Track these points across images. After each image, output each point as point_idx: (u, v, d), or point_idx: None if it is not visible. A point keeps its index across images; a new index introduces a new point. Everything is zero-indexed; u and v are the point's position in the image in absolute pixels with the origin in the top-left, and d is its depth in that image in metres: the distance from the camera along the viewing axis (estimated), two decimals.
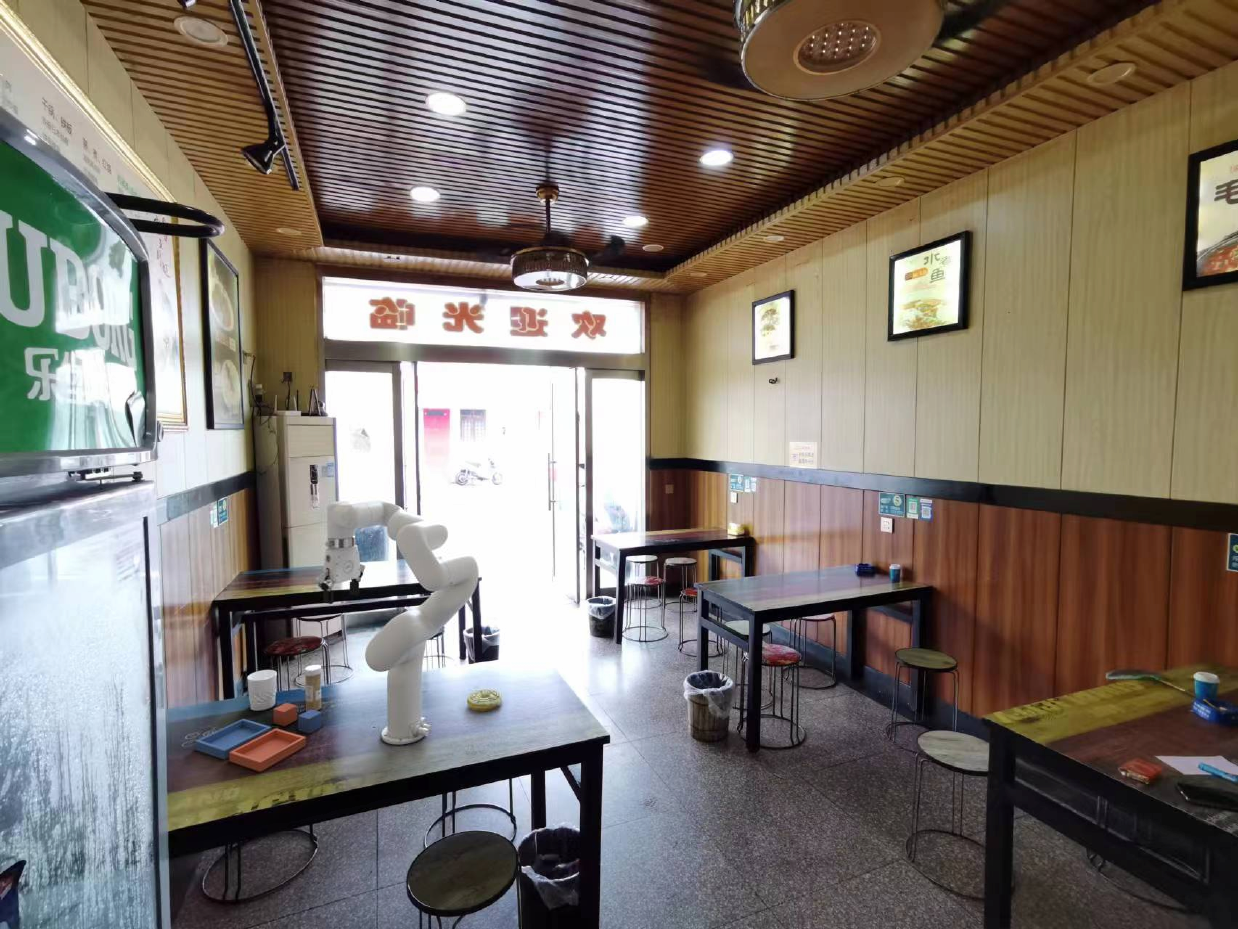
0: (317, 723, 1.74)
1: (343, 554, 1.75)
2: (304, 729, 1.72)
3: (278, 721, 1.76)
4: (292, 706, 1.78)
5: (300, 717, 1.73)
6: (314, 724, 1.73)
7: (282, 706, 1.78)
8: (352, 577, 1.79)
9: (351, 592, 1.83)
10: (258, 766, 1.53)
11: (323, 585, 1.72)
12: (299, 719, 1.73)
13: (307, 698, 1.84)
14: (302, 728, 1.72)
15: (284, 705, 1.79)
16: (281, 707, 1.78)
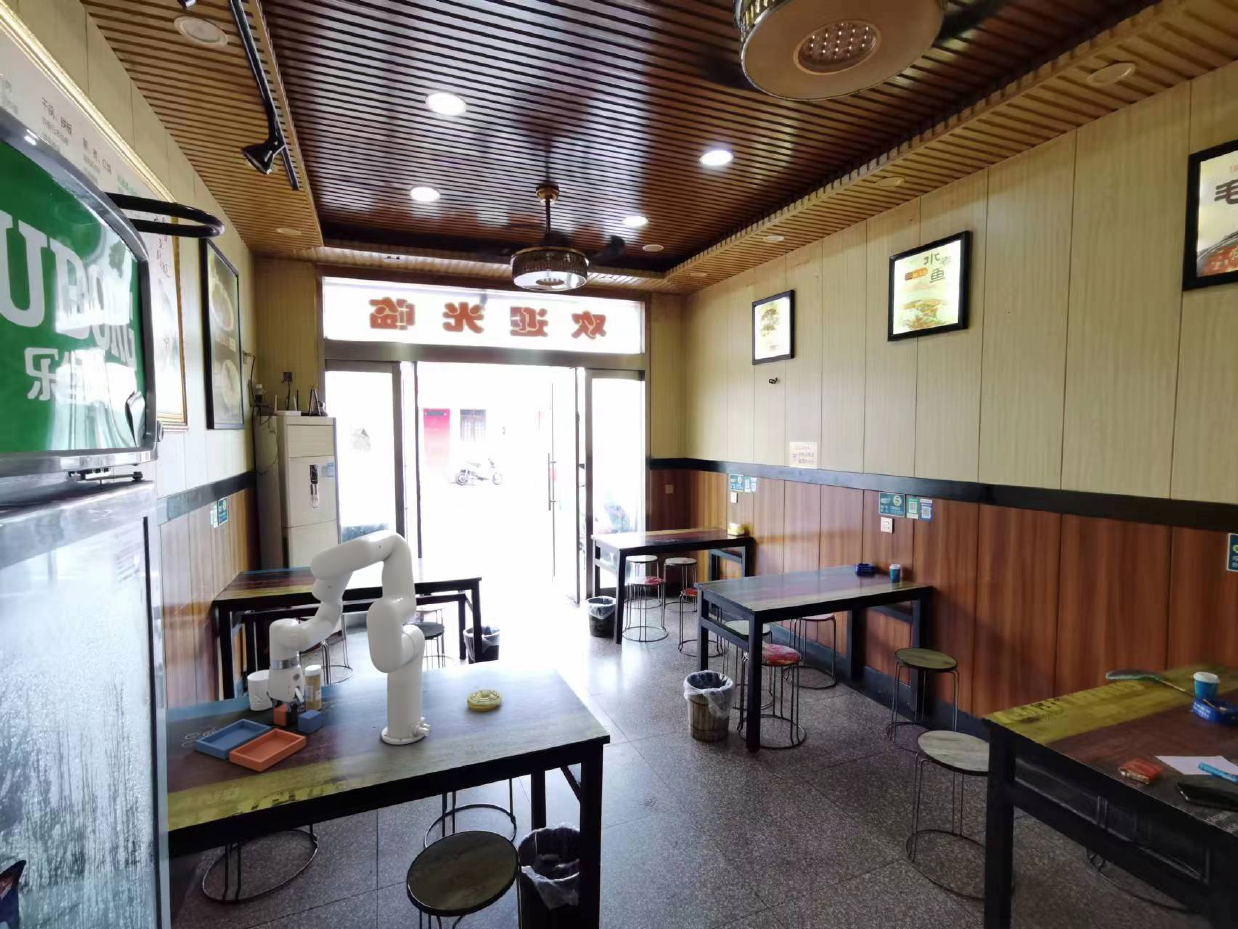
0: (317, 723, 1.74)
1: None
2: (304, 729, 1.72)
3: (278, 721, 1.76)
4: None
5: (300, 717, 1.73)
6: (314, 724, 1.73)
7: (282, 706, 1.78)
8: None
9: None
10: (258, 766, 1.53)
11: None
12: (299, 719, 1.73)
13: (307, 698, 1.84)
14: (302, 728, 1.72)
15: (284, 705, 1.79)
16: (281, 707, 1.78)
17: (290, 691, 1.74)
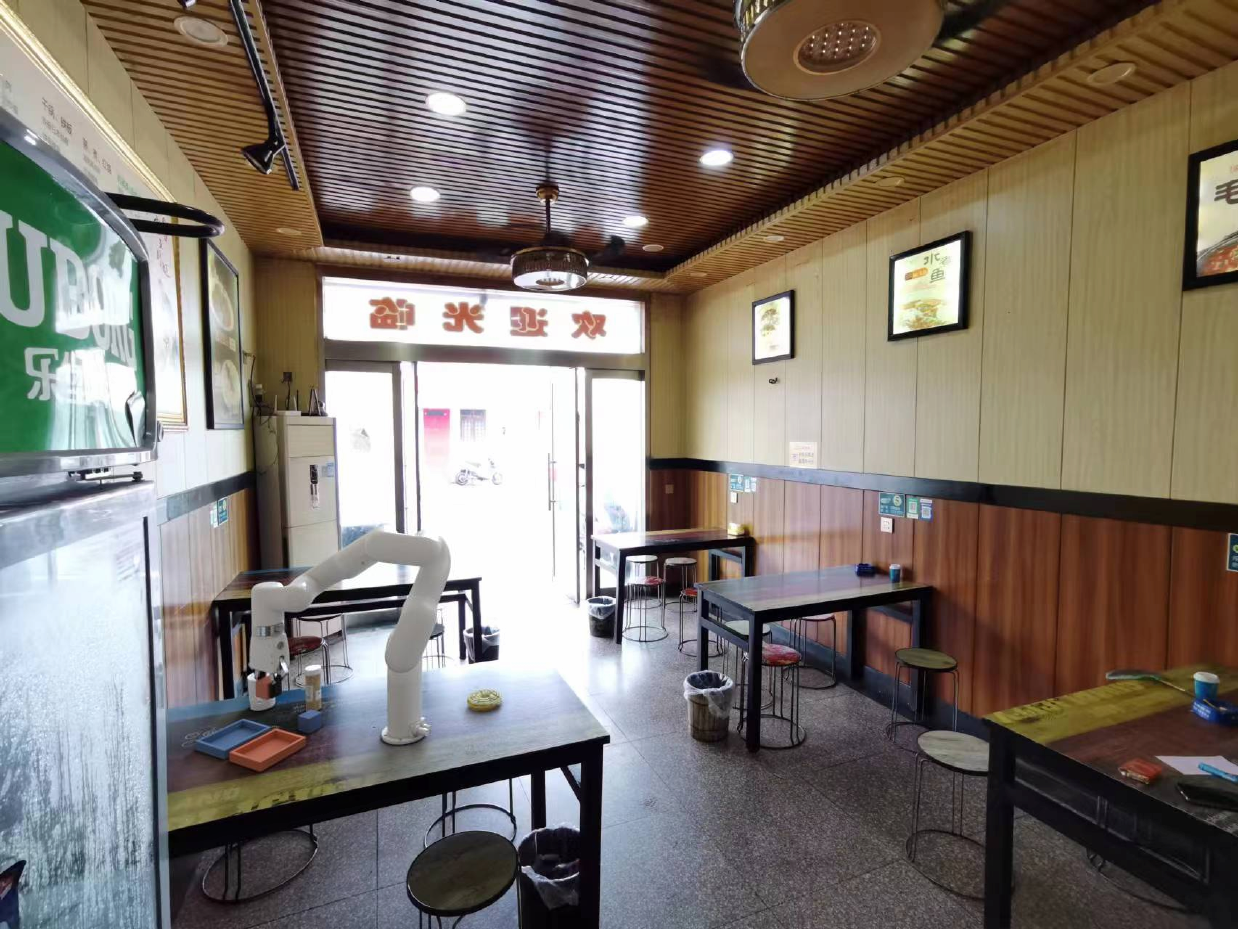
0: (317, 723, 1.74)
1: None
2: (304, 729, 1.72)
3: (260, 694, 1.59)
4: None
5: (300, 717, 1.73)
6: (314, 724, 1.73)
7: (265, 678, 1.62)
8: None
9: None
10: (258, 766, 1.53)
11: None
12: (299, 719, 1.73)
13: (307, 698, 1.84)
14: (302, 728, 1.72)
15: (267, 677, 1.62)
16: (264, 679, 1.61)
17: (274, 661, 1.57)
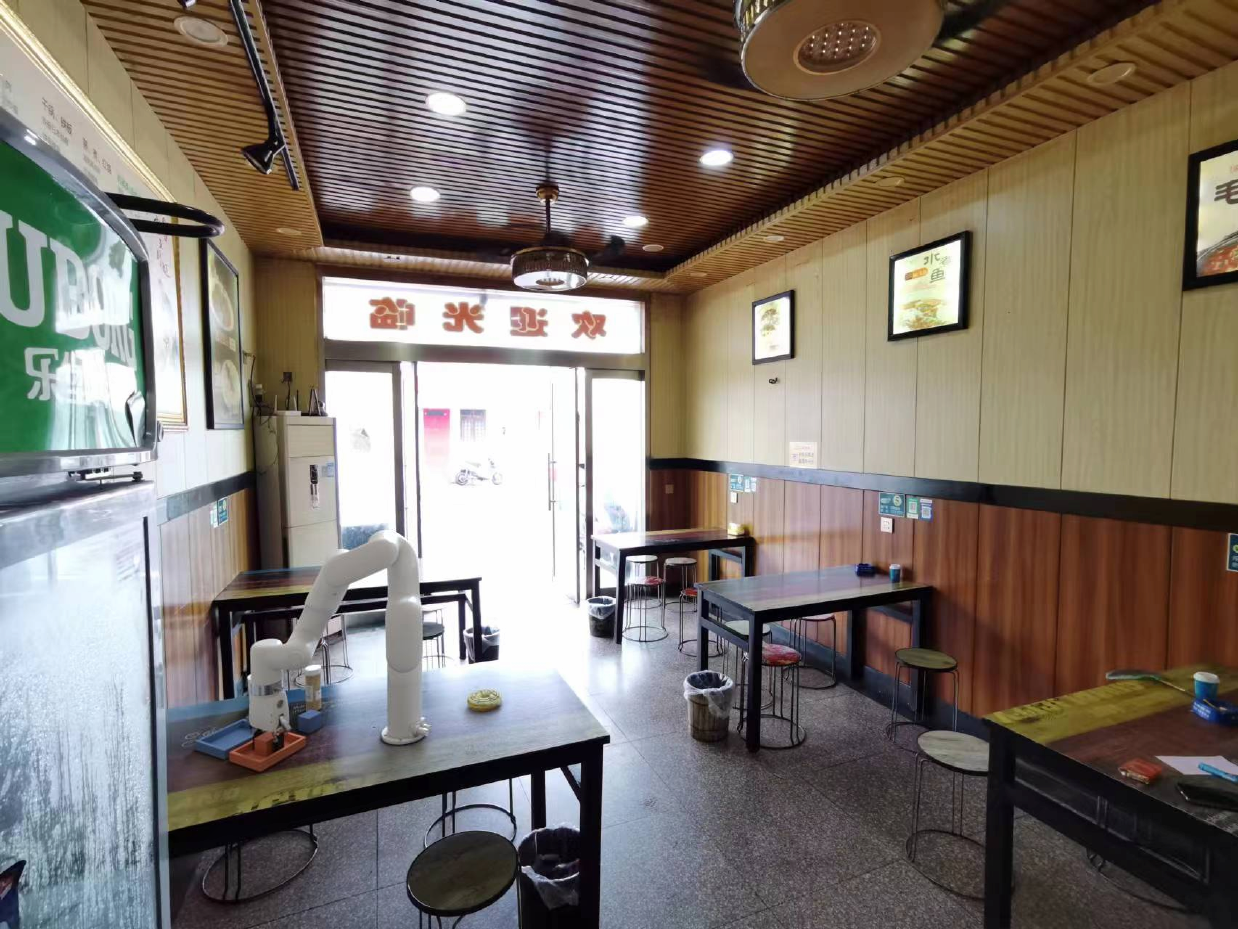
0: (317, 723, 1.74)
1: None
2: (304, 729, 1.72)
3: (259, 752, 1.59)
4: None
5: (300, 717, 1.73)
6: (314, 724, 1.73)
7: (264, 735, 1.61)
8: None
9: None
10: (258, 766, 1.53)
11: None
12: (299, 719, 1.73)
13: (307, 698, 1.84)
14: (302, 728, 1.72)
15: (266, 733, 1.62)
16: (263, 736, 1.60)
17: (273, 720, 1.57)
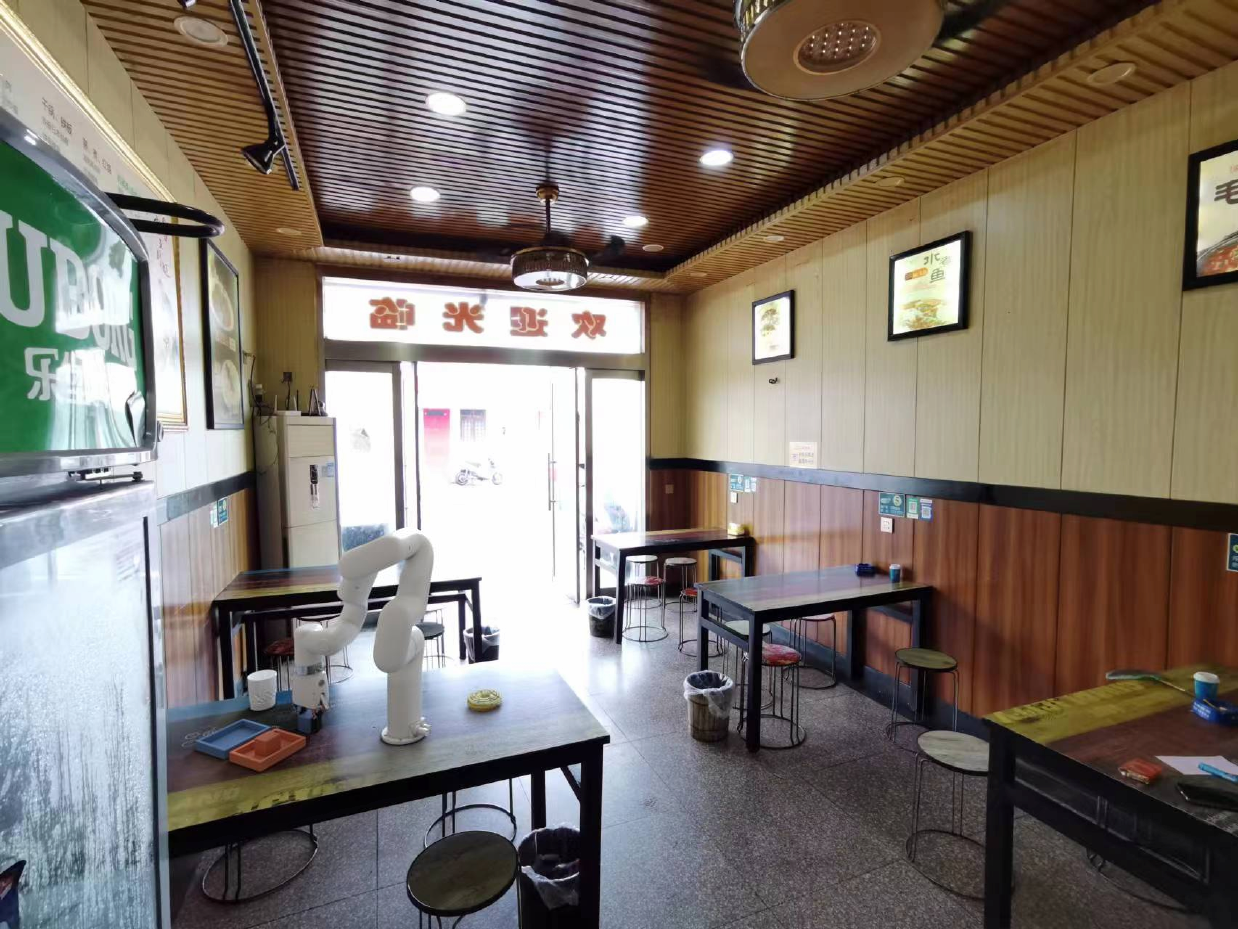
0: None
1: None
2: (304, 729, 1.72)
3: (259, 752, 1.59)
4: (275, 735, 1.61)
5: (300, 717, 1.73)
6: None
7: (264, 735, 1.61)
8: None
9: None
10: (258, 766, 1.53)
11: None
12: (299, 719, 1.73)
13: None
14: (302, 728, 1.72)
15: (266, 733, 1.62)
16: (263, 736, 1.60)
17: (315, 698, 1.70)
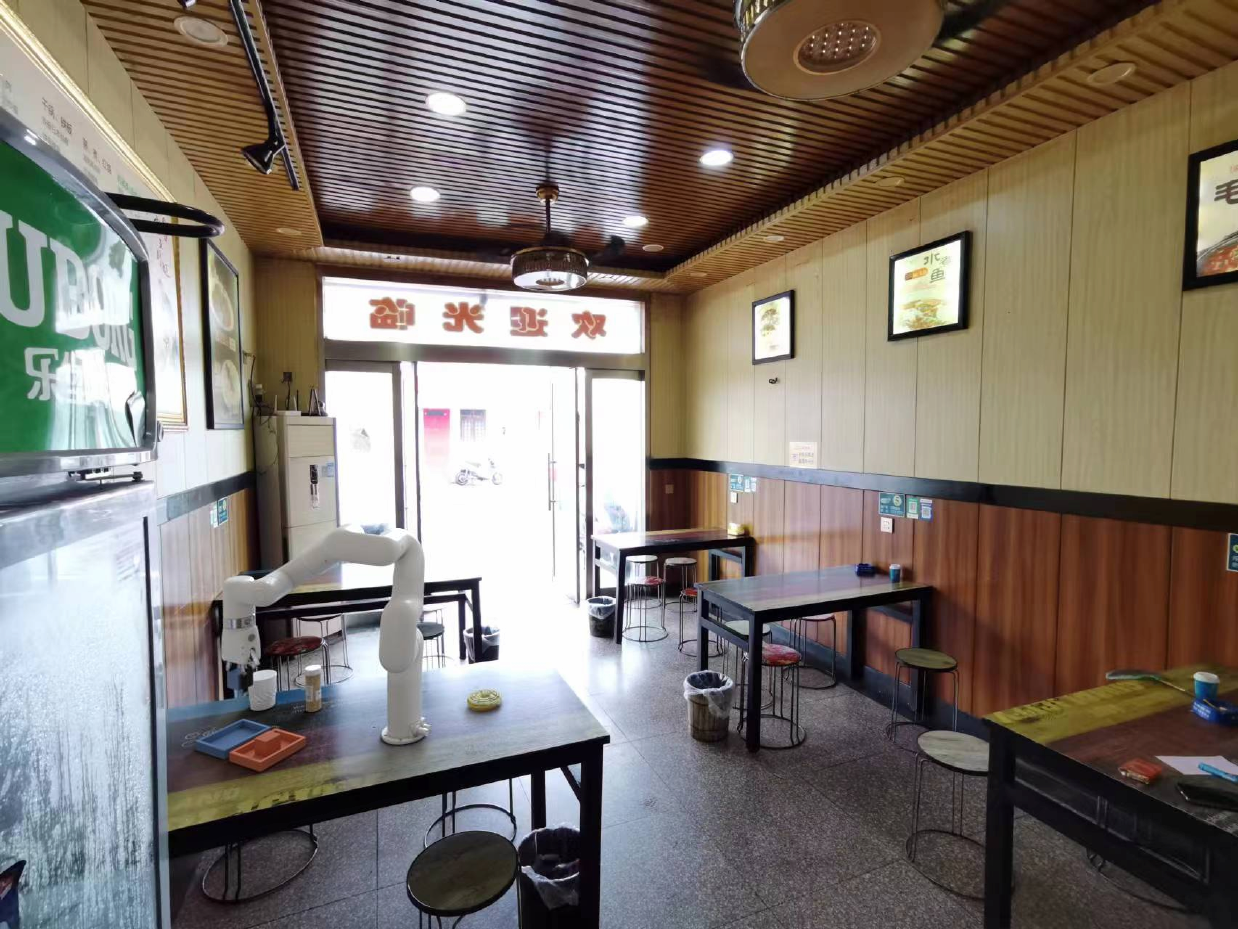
0: None
1: None
2: (233, 686, 1.64)
3: (259, 752, 1.59)
4: (275, 735, 1.61)
5: (229, 673, 1.64)
6: None
7: (264, 735, 1.61)
8: None
9: None
10: (258, 766, 1.53)
11: None
12: (228, 675, 1.64)
13: (307, 698, 1.84)
14: (231, 685, 1.64)
15: (266, 733, 1.62)
16: (263, 736, 1.60)
17: (244, 652, 1.61)
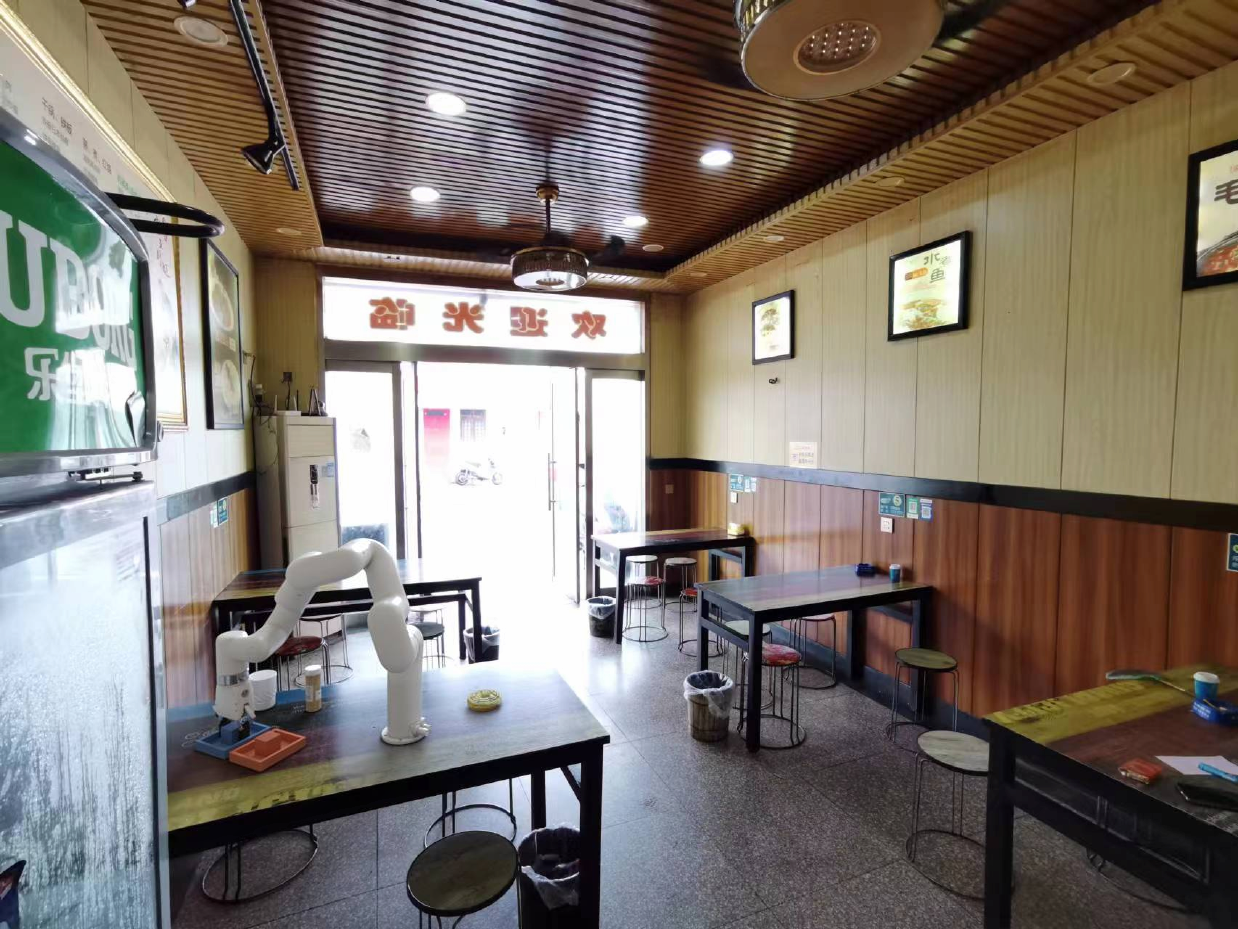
0: None
1: None
2: (227, 741, 1.64)
3: (259, 752, 1.59)
4: (275, 735, 1.61)
5: (222, 729, 1.64)
6: None
7: (264, 735, 1.61)
8: None
9: None
10: (258, 766, 1.53)
11: None
12: (222, 731, 1.64)
13: (307, 698, 1.84)
14: (225, 740, 1.64)
15: (266, 733, 1.62)
16: (263, 736, 1.60)
17: (238, 709, 1.62)
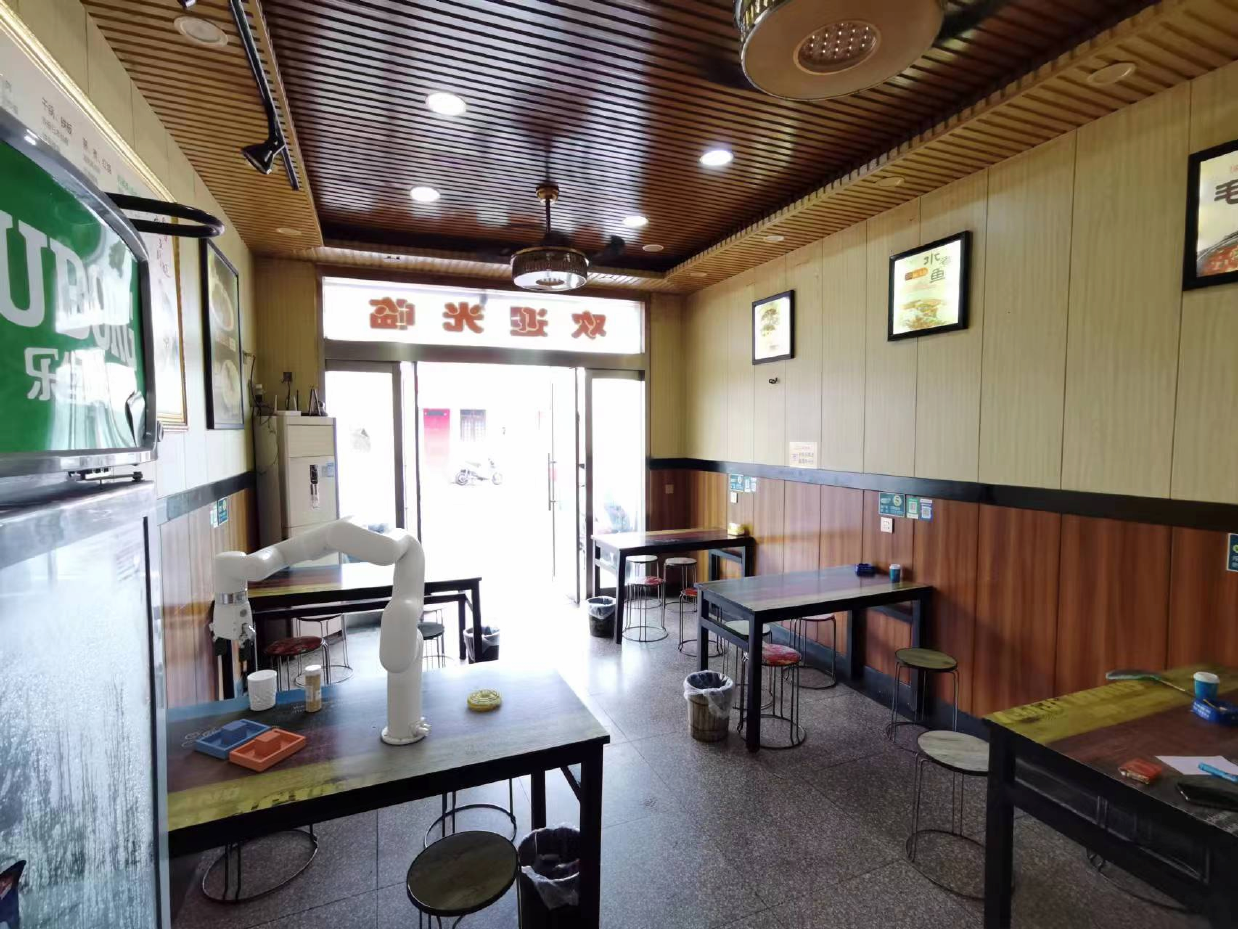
0: (241, 735, 1.66)
1: None
2: (227, 741, 1.64)
3: (259, 752, 1.59)
4: (275, 735, 1.61)
5: (222, 729, 1.64)
6: (238, 736, 1.65)
7: (264, 735, 1.61)
8: None
9: (219, 653, 1.65)
10: (258, 766, 1.53)
11: None
12: (222, 731, 1.64)
13: (307, 698, 1.84)
14: (225, 740, 1.64)
15: (266, 733, 1.62)
16: (263, 736, 1.60)
17: (236, 628, 1.60)
